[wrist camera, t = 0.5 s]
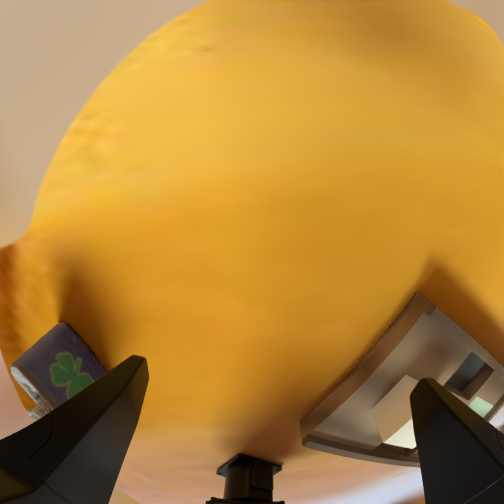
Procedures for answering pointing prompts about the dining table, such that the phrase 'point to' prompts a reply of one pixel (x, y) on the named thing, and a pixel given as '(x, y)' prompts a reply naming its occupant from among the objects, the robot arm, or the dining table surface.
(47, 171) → the dining table surface
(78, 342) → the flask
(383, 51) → the dining table surface
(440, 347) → the box
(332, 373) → the dining table surface
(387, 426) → the block
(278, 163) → the dining table surface
